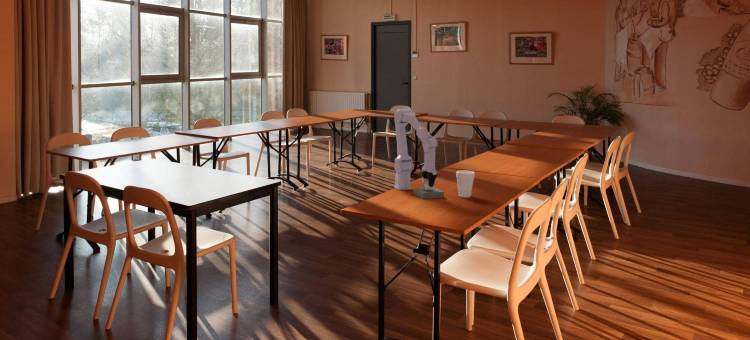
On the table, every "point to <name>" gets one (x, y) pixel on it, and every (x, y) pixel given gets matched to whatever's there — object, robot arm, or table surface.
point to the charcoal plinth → (428, 193)
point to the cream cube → (427, 185)
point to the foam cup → (465, 182)
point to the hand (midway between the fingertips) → (428, 185)
